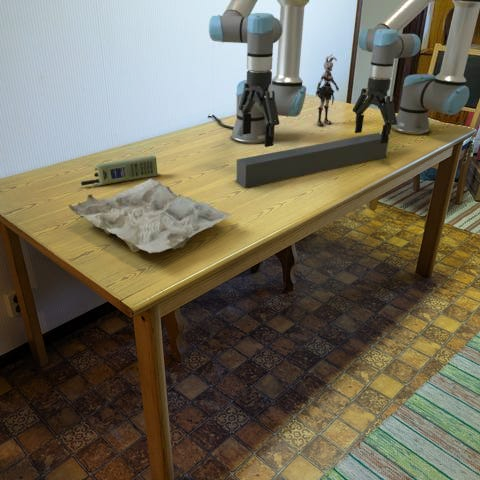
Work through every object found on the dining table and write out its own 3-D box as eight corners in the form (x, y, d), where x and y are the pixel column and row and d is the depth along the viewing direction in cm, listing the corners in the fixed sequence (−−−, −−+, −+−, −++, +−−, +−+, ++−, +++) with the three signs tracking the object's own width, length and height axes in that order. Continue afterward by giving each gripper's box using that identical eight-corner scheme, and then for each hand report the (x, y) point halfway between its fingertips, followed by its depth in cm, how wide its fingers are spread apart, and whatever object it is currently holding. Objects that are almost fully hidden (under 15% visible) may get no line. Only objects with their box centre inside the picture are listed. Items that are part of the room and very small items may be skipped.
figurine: (317, 128, 219) (323, 55, 204) (306, 125, 223) (312, 53, 208) (338, 122, 227) (346, 52, 213) (327, 119, 231) (334, 50, 217)
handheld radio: (158, 176, 170) (83, 189, 160) (155, 173, 172) (80, 186, 162) (156, 157, 167) (79, 169, 157) (153, 154, 169) (77, 166, 159)
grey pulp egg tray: (148, 192, 160) (63, 221, 139) (147, 174, 157) (60, 201, 136) (236, 233, 139) (152, 274, 118) (238, 213, 136) (151, 251, 115)
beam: (245, 187, 163) (245, 165, 159) (236, 181, 167) (236, 159, 164) (385, 157, 189) (389, 137, 185) (374, 152, 194) (377, 132, 190)
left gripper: (293, 77, 142) (289, 149, 153) (249, 62, 161) (247, 127, 172) (271, 79, 139) (268, 153, 149) (228, 64, 158) (228, 130, 168)
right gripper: (414, 84, 167) (403, 146, 177) (363, 70, 186) (355, 127, 196) (398, 85, 163) (387, 149, 174) (347, 72, 182) (340, 129, 192)
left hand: (257, 139), depth 161 cm, fingers open, 13 cm apart
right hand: (370, 137), depth 185 cm, fingers open, 13 cm apart
